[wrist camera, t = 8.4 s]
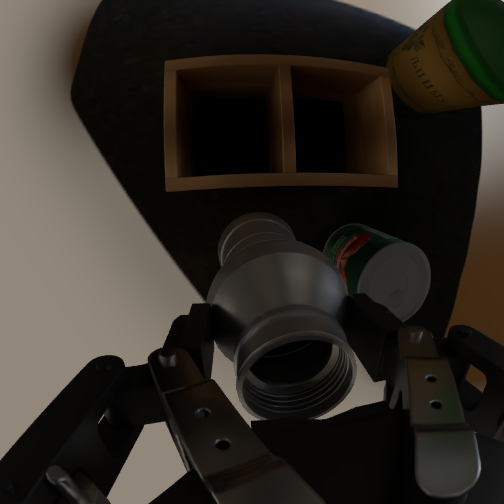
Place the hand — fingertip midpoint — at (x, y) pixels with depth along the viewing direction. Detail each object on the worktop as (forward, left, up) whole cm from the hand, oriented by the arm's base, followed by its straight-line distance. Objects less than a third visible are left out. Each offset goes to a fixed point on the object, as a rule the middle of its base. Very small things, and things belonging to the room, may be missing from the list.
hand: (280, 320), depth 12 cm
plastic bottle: (0, 0, -16) cm, 16 cm away
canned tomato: (+3, +12, -21) cm, 25 cm away
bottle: (-19, +20, -21) cm, 35 cm away
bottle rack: (-11, +3, -21) cm, 24 cm away
